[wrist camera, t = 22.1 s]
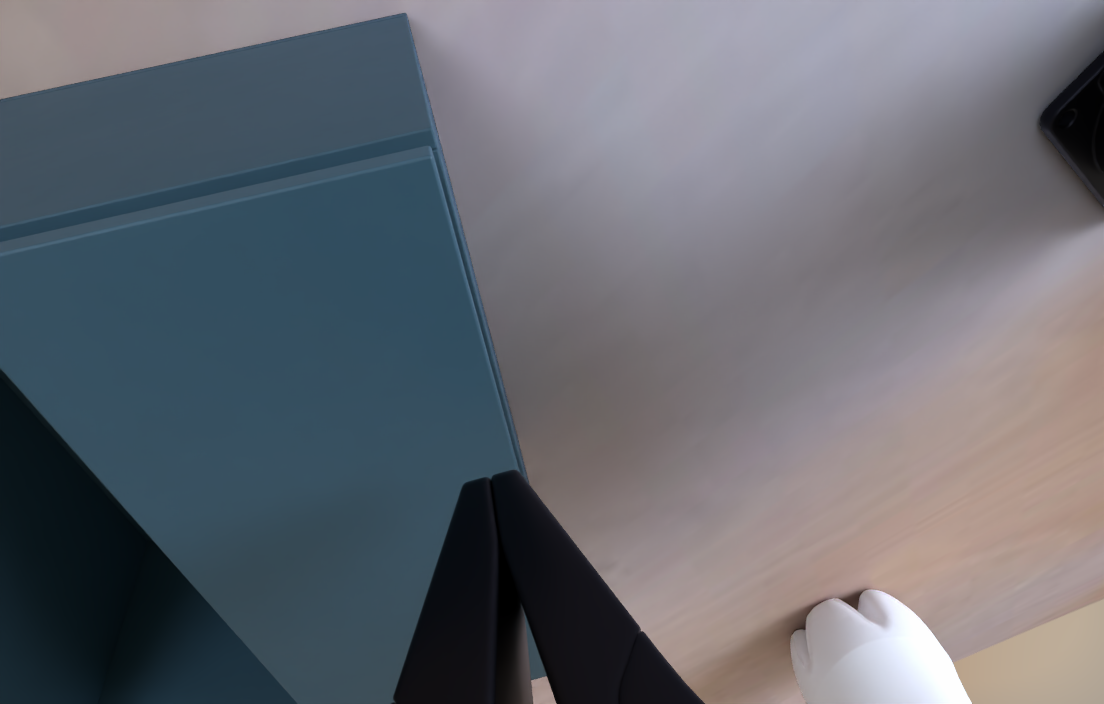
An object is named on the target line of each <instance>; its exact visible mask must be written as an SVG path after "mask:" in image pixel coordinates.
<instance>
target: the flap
mask: <svg viewBox="0 0 1104 704" xmlns="http://www.w3.org/2000/svg"><path fill="white" fill-rule="evenodd" d="M0 369H1V370H2V371H3V372H4V373H5V374H6V375H7V376H8V378H9V379H10V380H11V381H12V382H13V383H14V384H15V385H16V387H17V388H18V389H19V390H20V391H21V392H22V393H23V394H24V396H25V397H26V398H27V399H28V400H29V401H30V402H31V403H32V405H33V406H34V407H35V408H36V409H37V410H38V411H39V413H40V414H41V415H42V416H43V417H44V418H45V419H46V420H47V422H48V423H49V424H50V425H51V426H52V427H53V428H54V429H55V431H56V432H57V433H58V434H59V435H60V436H61V437H62V438H63V440H64V441H65V442H66V443H67V444H68V445H69V446H70V447H71V449H72V450H73V451H74V452H75V453H76V454H77V455H78V456H79V458H80V459H81V460H82V461H83V462H84V463H85V464H86V466H87V467H88V468H89V469H90V470H91V471H92V472H93V473H94V475H95V476H96V477H97V478H98V479H99V480H100V481H101V482H102V484H103V485H104V486H105V487H106V488H107V489H108V490H109V491H110V493H111V494H112V495H113V496H114V497H115V498H116V499H117V500H118V502H119V503H120V504H121V505H122V506H123V507H124V508H125V509H126V511H127V512H128V513H129V514H130V515H131V516H132V517H133V519H134V520H135V521H136V522H137V523H138V524H139V525H140V526H141V528H142V529H143V530H144V531H145V532H146V533H147V534H148V535H149V537H150V538H151V539H152V540H153V541H154V542H155V543H156V544H157V546H158V547H159V548H160V549H161V550H162V551H163V552H164V553H165V555H166V556H167V557H168V558H169V559H170V560H171V561H172V562H173V564H174V565H175V566H176V567H177V568H178V569H179V570H180V572H181V573H182V574H183V575H184V576H185V577H186V578H187V579H188V581H189V582H190V583H191V584H192V585H193V586H194V587H195V588H196V590H197V591H198V592H199V593H200V594H201V595H202V596H203V597H204V599H205V600H206V601H207V602H208V603H209V604H210V605H211V606H212V608H213V609H214V610H215V611H216V612H217V613H218V614H219V615H220V617H221V618H222V619H223V620H224V621H225V622H226V623H227V625H228V626H229V627H230V628H231V629H232V630H233V631H234V632H235V634H236V635H237V636H238V637H239V638H240V639H241V640H242V641H243V643H244V644H245V645H246V646H247V647H248V648H249V649H250V650H251V652H252V653H253V654H254V655H255V656H256V657H257V658H258V659H259V661H260V662H261V663H262V664H263V665H264V666H265V667H266V668H267V670H268V671H269V672H270V673H271V674H272V675H273V676H274V678H275V679H276V680H277V681H278V682H279V683H280V684H281V685H282V687H283V688H284V689H285V690H286V691H287V692H288V693H289V694H290V696H291V697H292V698H293V699H294V700H295V701H296V702H297V703H298V704H391V703H395V702H394V700H393V695H394V692H395V689H396V686H397V683H398V680H399V677H400V674H401V671H402V668H403V665H404V662H405V659H406V656H407V653H408V650H409V647H410V644H411V640H412V637H413V634H414V631H415V628H416V625H417V622H418V619H419V616H420V613H421V610H422V607H423V604H424V601H425V598H426V595H427V592H428V589H429V585H430V582H431V579H432V576H433V573H434V570H435V567H436V564H437V561H438V558H439V555H440V552H441V549H442V546H443V543H444V540H445V537H446V534H447V530H448V527H449V524H450V521H451V518H452V515H453V512H454V509H455V506H456V503H457V500H458V497H459V494H460V491H461V488H462V486H463V484H464V483H466V482H468V481H472V480H475V479H479V478H483V477H489V478H490V479H491V478H492V476H493V475H495V474H498V473H501V472H505V471H509V470H513V469H515V470H517V471H519V467H518V464H517V460H516V456H515V453H514V449H513V445H512V442H511V438H510V434H509V431H508V427H507V423H506V420H505V416H504V412H503V409H502V405H501V401H500V398H499V394H498V390H497V387H496V383H495V379H494V375H493V372H492V368H491V364H490V361H489V357H488V353H487V350H486V346H485V342H484V339H483V335H482V331H481V328H480V324H479V320H478V317H477V313H476V309H475V306H474V302H473V298H472V295H471V291H470V287H469V284H468V280H467V276H466V273H465V269H464V265H463V261H462V258H461V254H460V250H459V247H458V243H457V239H456V236H455V232H454V228H453V225H452V221H451V217H450V214H449V210H448V206H447V203H446V199H445V195H444V192H443V188H442V184H441V181H440V177H439V173H438V170H437V166H436V162H435V159H434V155H433V151H432V148H431V147H430V146H423V147H419V148H414V149H410V150H405V151H401V152H396V153H392V154H388V155H383V156H379V157H374V158H370V159H366V160H361V161H357V162H352V163H348V164H343V165H339V166H335V167H330V168H326V169H321V170H317V171H313V172H308V173H304V174H299V175H295V176H290V177H286V178H282V179H277V180H273V181H268V182H264V183H259V184H255V185H251V186H246V187H242V188H237V189H233V190H229V191H224V192H220V193H215V194H211V195H206V196H202V197H198V198H193V199H189V200H184V201H180V202H176V203H171V204H167V205H162V206H158V207H153V208H149V209H145V210H140V211H136V212H131V213H127V214H123V215H118V216H114V217H109V218H105V219H100V220H96V221H92V222H87V223H83V224H78V225H74V226H69V227H65V228H61V229H56V230H52V231H47V232H43V233H39V234H34V235H30V236H25V237H21V238H16V239H12V240H8V241H3V242H0ZM519 472H520V471H519ZM524 615H525V613H524ZM525 624H526V632H527V643H528V653H529V664H530V674H531V680H534V679H538V678H541V677H545V676H547V675H546V672H545V669H544V666H543V664H542V661H541V658H540V655H539V652H538V649H537V647H536V644H535V641H534V638H533V635H532V633H531V630H530V627H529V624H528V621H527V618H526V615H525Z"/></svg>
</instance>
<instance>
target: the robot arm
mask: <svg viewBox="0 0 1104 704" xmlns="http://www.w3.org/2000/svg"><path fill="white" fill-rule="evenodd" d="M1060 118H1061V119H1060ZM1040 127H1041V130H1042V131H1043V132H1044V134H1045V135H1046V136H1047V137H1048V139H1049V140H1050V141H1051V142H1052V143H1053V145H1054V146H1055V147H1056V148H1057V150H1058V151H1059V152H1060V153H1061V155H1062V156H1063V157H1064V158H1065V160H1066V161H1067V162H1068V163H1069V165H1070V166H1071V167H1072V168H1073V170H1074V171H1075V172H1076V173H1077V175H1078V176H1079V177H1080V178H1081V180H1082V181H1083V182H1084V183H1085V185H1086V186H1087V187H1088V188H1089V190H1090V191H1091V192H1092V193H1093V195H1094V196H1095V197H1096V198H1097V200H1098V201H1099V202H1100V203H1101V205H1102V206H1103V207H1104V51H1103V52H1102V53H1101V54H1100V55H1099V56H1098V57H1097V58H1096V59H1095V60H1094V61H1093V62H1092V63H1091V64H1090V65H1089V66H1088V67H1087V68H1086V69H1085V70H1084V71H1083V72H1082V73H1081V74H1080V75H1079V76H1078V77H1077V78H1076V79H1075V80H1074V81H1073V82H1072V83H1071V84H1070V85H1069V86H1068V87H1067V88H1066V89H1065V90H1064V91H1063V92H1062V93H1061V94H1060V95H1059V96H1058V97H1057V98H1056V99H1055V100H1054V101H1053V102H1052V103H1051V104H1050V105H1049V106H1048V107H1047V108H1046V110H1045V111H1044V112H1043V114H1042V116H1041V118H1040ZM524 613H525V615H526V618H527V621H528V624H529V627H530V630H531V633H532V635H533V638H534V641H535V644H536V647H537V649H538V652H539V655H540V658H541V661H542V664H543V666H544V669H545V672H546V675H547V678H548V681H549V683H550V686H551V689H552V692H553V695H554V698H555V700H556V703H557V704H705V703H704V702H703V701H702V700H701V699H700V698H699V697H698V696H697V695H696V694H695V693H694V692H693V691H692V689H691V688H690V687H689V686H688V685H687V684H686V683H685V682H684V681H683V680H682V678H681V677H680V676H679V675H678V674H677V672H676V671H675V670H674V669H673V668H672V666H671V665H670V664H669V663H668V662H667V660H666V659H665V658H664V657H663V656H662V654H661V653H660V652H659V651H658V649H657V648H656V647H655V646H654V644H653V643H652V642H651V640H650V639H649V638H648V637H647V635H646V634H645V633H644V632H643V631H641V629H640V627H639V625H638V624H637V623H636V622H635V620H634V619H633V618H632V616H631V615H630V614H629V613H628V611H627V610H626V609H625V607H624V606H623V605H622V603H621V602H620V601H619V600H618V598H617V597H616V596H615V594H614V593H613V592H612V591H611V589H610V588H609V587H608V585H607V584H606V583H605V582H604V580H603V579H602V578H601V576H600V575H599V574H598V573H597V571H596V570H595V569H594V567H593V566H592V565H591V564H590V562H589V561H588V560H587V558H586V557H585V556H584V555H583V553H582V552H581V551H580V549H579V548H578V547H577V545H576V544H575V543H574V542H573V540H572V539H571V538H570V536H569V535H568V534H567V533H566V531H565V530H564V529H563V527H562V526H561V525H560V524H559V522H558V521H557V520H556V518H555V517H554V516H553V515H552V513H551V512H550V511H549V509H548V508H547V507H546V506H545V504H544V503H543V502H542V500H541V499H540V498H539V497H538V495H537V494H536V493H535V491H534V490H533V489H532V488H531V486H530V485H529V484H528V482H527V481H526V480H525V478H524V477H523V476H522V475H521V473H520V472H519V471H517V470H515V469H513V470H509V471H505V472H501V473H498V474H495V475H493V476H492V478H491V479H490V478H489V477H483V478H479V479H475V480H472V481H468V482H466V483H464V484H463V486H462V488H461V491H460V494H459V497H458V500H457V503H456V506H455V509H454V512H453V515H452V518H451V521H450V524H449V527H448V530H447V534H446V537H445V540H444V543H443V546H442V549H441V552H440V555H439V558H438V561H437V564H436V567H435V570H434V573H433V576H432V579H431V582H430V585H429V589H428V592H427V595H426V598H425V601H424V604H423V607H422V610H421V613H420V616H419V619H418V622H417V625H416V628H415V631H414V634H413V637H412V640H411V644H410V647H409V650H408V653H407V656H406V659H405V662H404V665H403V668H402V671H401V674H400V677H399V680H398V683H397V686H396V689H395V692H394V695H393V700H394V702H395V703H391V704H533V696H532V685H531V674H530V664H529V653H528V643H527V632H526V624H525V615H524Z"/></svg>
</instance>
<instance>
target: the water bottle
mask: <svg viewBox="0 0 1104 704" xmlns="http://www.w3.org/2000/svg"><path fill="white" fill-rule="evenodd" d="M790 647H791V658H792V664H793V669H794V673H795V676H796V680H797V683H798V686H799V688H800V690H801V693H802V695H803V697H804V699H805V701H806V703H807V704H972V703H971V701H970V699H969V697H968V695H967V693H966V691H965V689H964V687H963V686H962V683H961V681H960V679H959V677H958V675H957V672H956V670H955V668H954V665H953V663H952V660H951V659H950V657H949V656H948V654H947V653H946V652H945V650H944V649H943V648H942V646H941V645H940V643H939V642H938V640H937V639H936V638H935V636H934V635H933V633H932V632H931V631H930V630H929V628H928V627H927V626H926V625H925V623H924V622H923V621H922V620H921V619H920V618H919V617H918V616H917V615H916V614H915V613H914V612H912V611H911V610H910V609H909V608H908V607H906V606H905V605H904V604H902V603H901V602H900V601H898V600H897V599H895V598H894V597H892V596H890V595H888V594H887V593H884V592H882V591H878V590H873V589H869V590H865V591H864V592H862V594H861V595H860V597H859V604H858V611H857V610H855V609H854V608H853V607H851V606H850V605H848V604H847V603H845V602H843V601H842V600H840V599H838V598H834V599H829V600H825V601H824V602H822V603H820V604H818V605H817V606H815V607H814V608H813V609H812V610H811V611H810V613H809V614H808V615H807V618H806V630H803V629H800V630H796V631H795V632H794V633H793V635H792V636H791V640H790Z"/></svg>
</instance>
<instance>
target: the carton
mask: <svg viewBox="0 0 1104 704" xmlns="http://www.w3.org/2000/svg"><path fill="white" fill-rule="evenodd" d="M423 146H430V147H431V148H432V151H433V155H434V159H435V162H436V166H437V170H438V173H439V177H440V181H441V184H442V188H443V192H444V195H445V199H446V203H447V206H448V210H449V214H450V217H451V221H452V225H453V228H454V232H455V236H456V239H457V243H458V247H459V250H460V254H461V258H462V261H463V265H464V269H465V273H466V276H467V280H468V284H469V287H470V291H471V295H472V298H473V302H474V306H475V309H476V313H477V317H478V320H479V324H480V328H481V331H482V335H483V339H484V342H485V346H486V350H487V353H488V357H489V361H490V364H491V368H492V372H493V375H494V379H495V383H496V387H497V390H498V394H499V398H500V401H501V405H502V409H503V412H504V416H505V420H506V423H507V427H508V431H509V434H510V438H511V442H512V445H513V449H514V453H515V456H516V460H517V464H518V467H519V471H520V473H521V475H522V476H523V477H524V478H525V480H526V481H527V482H528V484H529V481H528V477H527V473H526V469H525V465H524V461H523V457H522V453H521V449H520V445H519V441H518V438H517V434H516V430H515V426H514V422H513V418H512V415H511V411H510V407H509V403H508V399H507V396H506V392H505V388H504V384H503V380H502V376H501V373H500V369H499V365H498V361H497V357H496V354H495V350H494V346H493V342H492V338H491V335H490V331H489V327H488V323H487V319H486V315H485V312H484V308H483V304H482V300H481V296H480V293H479V289H478V285H477V281H476V277H475V273H474V270H473V266H472V262H471V258H470V254H469V251H468V247H467V243H466V239H465V235H464V232H463V228H462V224H461V220H460V216H459V212H458V209H457V205H456V201H455V197H454V193H453V190H452V186H451V182H450V178H449V174H448V170H447V167H446V163H445V159H444V155H443V151H442V148H441V144H440V140H439V136H438V132H437V129H436V125H435V121H434V117H433V113H432V109H431V106H430V102H429V98H428V94H427V90H426V87H425V83H424V79H423V75H422V71H421V67H420V64H419V60H418V56H417V52H416V48H415V45H414V41H413V37H412V33H411V29H410V26H409V22H408V18H407V14H406V13H402V14H397V15H393V16H388V17H383V18H379V19H374V20H369V21H365V22H360V23H355V24H351V25H346V26H341V27H337V28H332V29H327V30H323V31H318V32H313V33H309V34H304V35H299V36H295V37H290V38H285V39H281V40H276V41H271V42H267V43H262V44H257V45H253V46H248V47H243V48H239V49H234V50H229V51H225V52H220V53H215V54H211V55H206V56H201V57H197V58H192V59H187V60H183V61H178V62H173V63H169V64H164V65H159V66H155V67H150V68H145V69H141V70H136V71H131V72H127V73H122V74H117V75H113V76H108V77H103V78H99V79H94V80H89V81H85V82H80V83H75V84H71V85H66V86H61V87H57V88H52V89H47V90H43V91H38V92H33V93H29V94H24V95H19V96H15V97H10V98H5V99H1V100H0V242H3V241H8V240H12V239H16V238H21V237H25V236H30V235H34V234H39V233H43V232H47V231H52V230H56V229H61V228H65V227H69V226H74V225H78V224H83V223H87V222H92V221H96V220H100V219H105V218H109V217H114V216H118V215H123V214H127V213H131V212H136V211H140V210H145V209H149V208H153V207H158V206H162V205H167V204H171V203H176V202H180V201H184V200H189V199H193V198H198V197H202V196H206V195H211V194H215V193H220V192H224V191H229V190H233V189H237V188H242V187H246V186H251V185H255V184H259V183H264V182H268V181H273V180H277V179H282V178H286V177H290V176H295V175H299V174H304V173H308V172H313V171H317V170H321V169H326V168H330V167H335V166H339V165H343V164H348V163H352V162H357V161H361V160H366V159H370V158H374V157H379V156H383V155H388V154H392V153H396V152H401V151H405V150H410V149H414V148H419V147H423ZM0 704H298V703H297V702H296V701H295V700H294V699H293V698H292V697H291V696H290V694H289V693H288V692H287V691H286V690H285V689H284V688H283V687H282V685H281V684H280V683H279V682H278V681H277V680H276V679H275V678H274V676H273V675H272V674H271V673H270V672H269V671H268V670H267V668H266V667H265V666H264V665H263V664H262V663H261V662H260V661H259V659H258V658H257V657H256V656H255V655H254V654H253V653H252V652H251V650H250V649H249V648H248V647H247V646H246V645H245V644H244V643H243V641H242V640H241V639H240V638H239V637H238V636H237V635H236V634H235V632H234V631H233V630H232V629H231V628H230V627H229V626H228V625H227V623H226V622H225V621H224V620H223V619H222V618H221V617H220V615H219V614H218V613H217V612H216V611H215V610H214V609H213V608H212V606H211V605H210V604H209V603H208V602H207V601H206V600H205V599H204V597H203V596H202V595H201V594H200V593H199V592H198V591H197V590H196V588H195V587H194V586H193V585H192V584H191V583H190V582H189V581H188V579H187V578H186V577H185V576H184V575H183V574H182V573H181V572H180V570H179V569H178V568H177V567H176V566H175V565H174V564H173V562H172V561H171V560H170V559H169V558H168V557H167V556H166V555H165V553H164V552H163V551H162V550H161V549H160V548H159V547H158V546H157V544H156V543H155V542H154V541H153V540H152V539H151V538H150V537H149V535H148V534H147V533H146V532H145V531H144V530H143V529H142V528H141V526H140V525H139V524H138V523H137V522H136V521H135V520H134V519H133V517H132V516H131V515H130V514H129V513H128V512H127V511H126V509H125V508H124V507H123V506H122V505H121V504H120V503H119V502H118V500H117V499H116V498H115V497H114V496H113V495H112V494H111V493H110V491H109V490H108V489H107V488H106V487H105V486H104V485H103V484H102V482H101V481H100V480H99V479H98V478H97V477H96V476H95V475H94V473H93V472H92V471H91V470H90V469H89V468H88V467H87V466H86V464H85V463H84V462H83V461H82V460H81V459H80V458H79V456H78V455H77V454H76V453H75V452H74V451H73V450H72V449H71V447H70V446H69V445H68V444H67V443H66V442H65V441H64V440H63V438H62V437H61V436H60V435H59V434H58V433H57V432H56V431H55V429H54V428H53V427H52V426H51V425H50V424H49V423H48V422H47V420H46V419H45V418H44V417H43V416H42V415H41V414H40V413H39V411H38V410H37V409H36V408H35V407H34V406H33V405H32V403H31V402H30V401H29V400H28V399H27V398H26V397H25V396H24V394H23V393H22V392H21V391H20V390H19V389H18V388H17V387H16V385H15V384H14V383H13V382H12V381H11V380H10V379H9V378H8V376H7V375H6V374H5V373H4V372H3V371H2V370H1V369H0Z"/></svg>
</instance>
